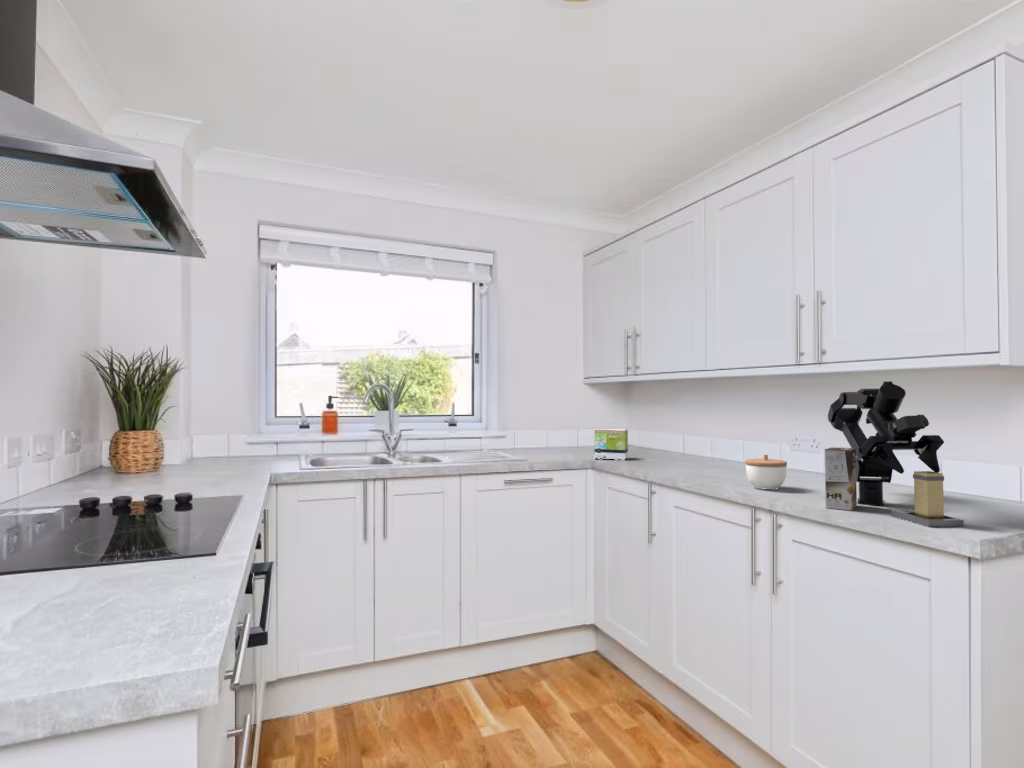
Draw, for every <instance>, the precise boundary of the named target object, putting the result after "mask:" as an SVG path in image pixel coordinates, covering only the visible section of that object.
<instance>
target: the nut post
mask: <svg viewBox="0 0 1024 768" xmlns="http://www.w3.org/2000/svg"><path fill="white" fill-rule="evenodd" d="M912 479H913V485H914V486H913V490H914V491H913V492H914V495H913V496H914V510H915V516H917V517H921V518H924V519H944V515H945V508H944V507H945V506H944V505H945V504H944V503H945V502H944V481H945V476H944V473H943V472H942V473H941V472H938V473H937V472H934V471H932V470H931V471H930V470H922V471H920V470H919V471H917V470H915V471H913V473H912Z"/></svg>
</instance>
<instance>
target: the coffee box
mask: <svg viewBox="0 0 1024 768" xmlns="http://www.w3.org/2000/svg"><path fill="white" fill-rule="evenodd" d="M824 470H825V471H824V474H825V475H824V476H825V477H824V479H825V480H824V481H825V482H824V483H825V488H824V489H825V490H824V491H825V494H824V495H825V508H826V509H835V510H842V511H852V510H853V509H855V508H856V507H857V504H858V497H857V494H858V493H857V482H856V448H851V447H835V446H834V447H828V448H825V449H824ZM855 506H856V507H855Z"/></svg>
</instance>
